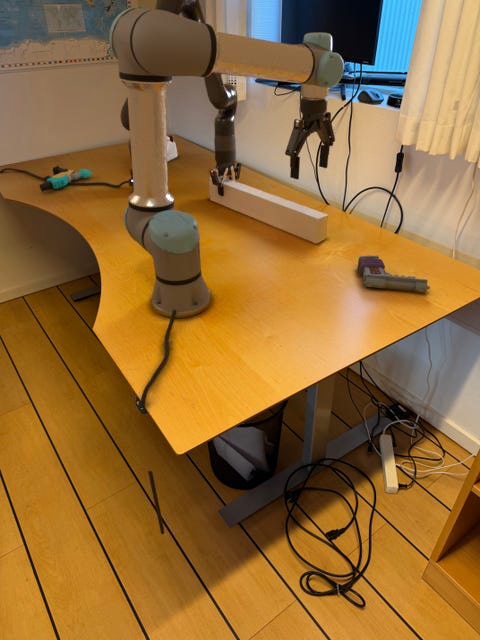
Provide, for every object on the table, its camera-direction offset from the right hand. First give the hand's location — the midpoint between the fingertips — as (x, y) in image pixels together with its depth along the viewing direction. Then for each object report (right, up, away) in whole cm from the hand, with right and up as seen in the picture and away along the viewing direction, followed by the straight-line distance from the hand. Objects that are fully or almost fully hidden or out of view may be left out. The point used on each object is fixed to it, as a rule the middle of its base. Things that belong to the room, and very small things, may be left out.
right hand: (309, 172), depth 145 cm
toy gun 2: (+21, -34, -12) cm, 42 cm away
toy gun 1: (-97, +12, +54) cm, 112 cm away
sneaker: (-59, +26, +73) cm, 97 cm away
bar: (-13, -9, +23) cm, 28 cm away
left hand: (-26, +2, +32) cm, 42 cm away
